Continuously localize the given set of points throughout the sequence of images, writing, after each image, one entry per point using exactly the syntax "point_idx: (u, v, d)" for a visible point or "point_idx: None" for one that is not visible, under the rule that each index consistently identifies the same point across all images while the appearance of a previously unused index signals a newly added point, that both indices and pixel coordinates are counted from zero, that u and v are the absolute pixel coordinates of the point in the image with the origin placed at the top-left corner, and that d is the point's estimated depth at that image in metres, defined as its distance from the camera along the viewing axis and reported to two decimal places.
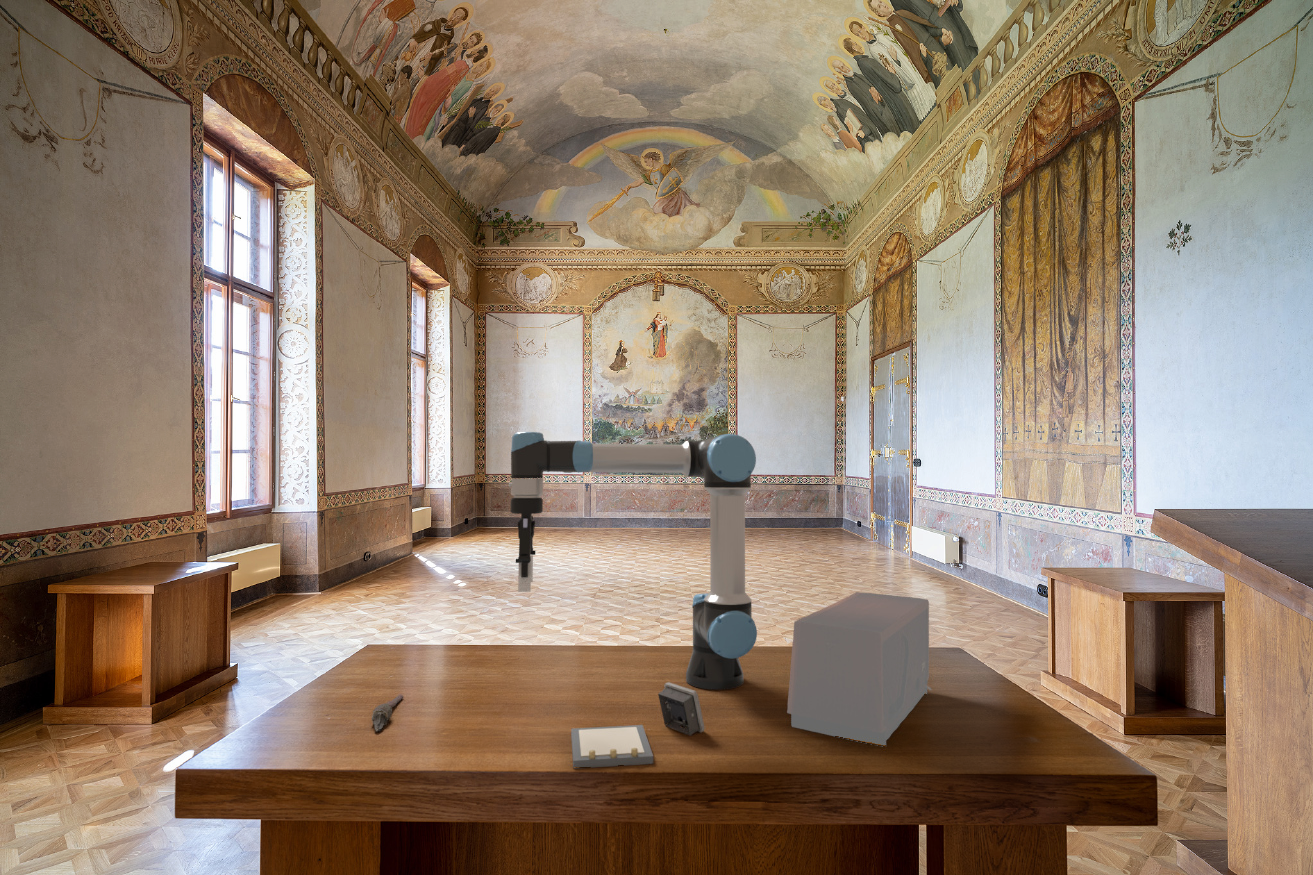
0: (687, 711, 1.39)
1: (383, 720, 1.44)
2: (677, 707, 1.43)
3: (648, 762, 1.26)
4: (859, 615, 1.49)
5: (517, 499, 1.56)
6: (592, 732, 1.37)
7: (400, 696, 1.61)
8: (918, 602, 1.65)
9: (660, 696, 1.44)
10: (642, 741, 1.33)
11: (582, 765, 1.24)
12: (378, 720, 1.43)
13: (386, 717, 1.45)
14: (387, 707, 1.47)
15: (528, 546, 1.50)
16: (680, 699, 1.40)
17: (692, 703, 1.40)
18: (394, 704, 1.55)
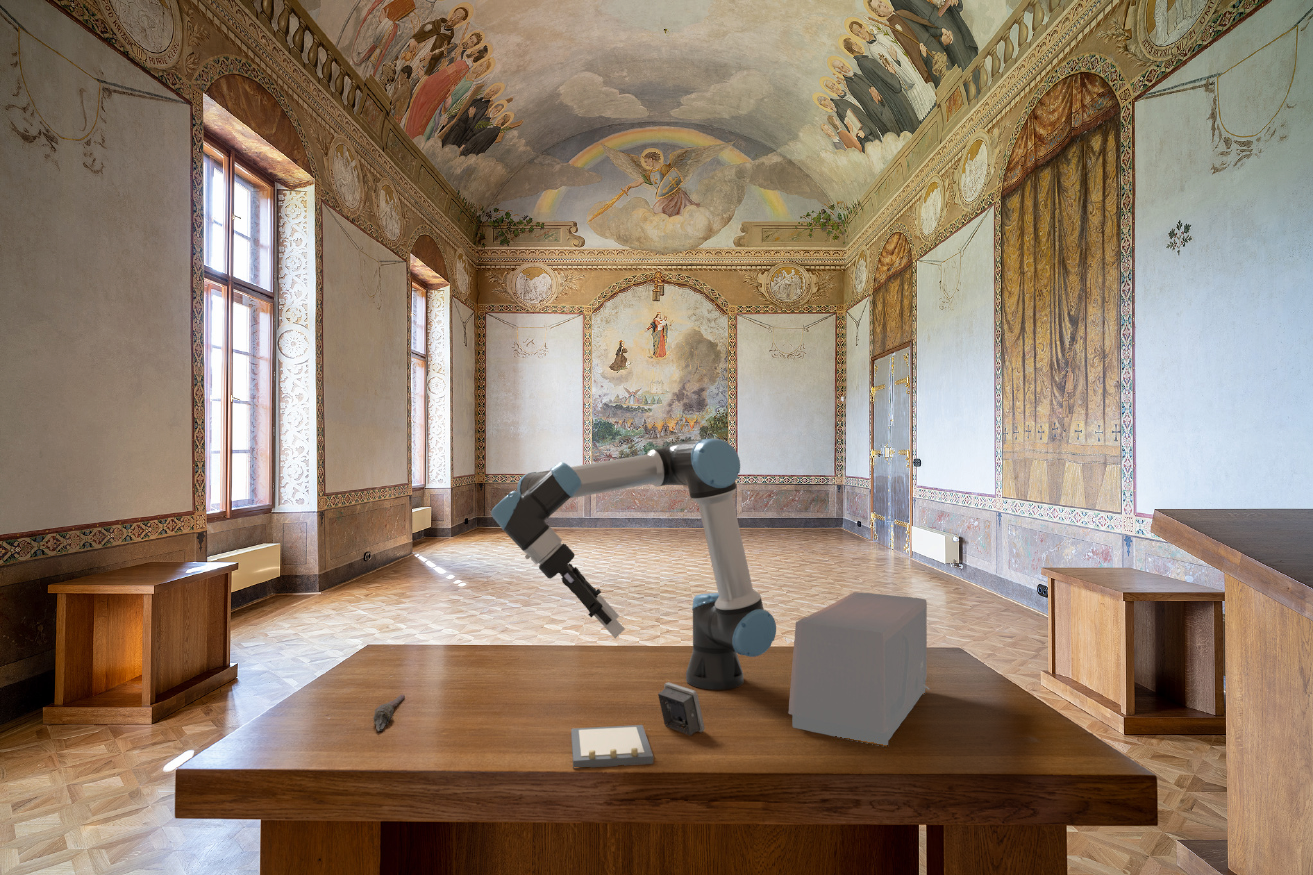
0: (687, 711, 1.39)
1: (385, 720, 1.44)
2: (677, 707, 1.43)
3: (648, 762, 1.26)
4: (859, 615, 1.49)
5: (545, 564, 1.39)
6: (592, 732, 1.37)
7: (402, 696, 1.61)
8: (916, 602, 1.65)
9: (660, 696, 1.44)
10: (642, 741, 1.33)
11: (582, 765, 1.24)
12: (380, 719, 1.43)
13: (388, 717, 1.45)
14: (389, 707, 1.47)
15: (589, 595, 1.34)
16: (680, 699, 1.40)
17: (692, 703, 1.40)
18: (396, 704, 1.55)
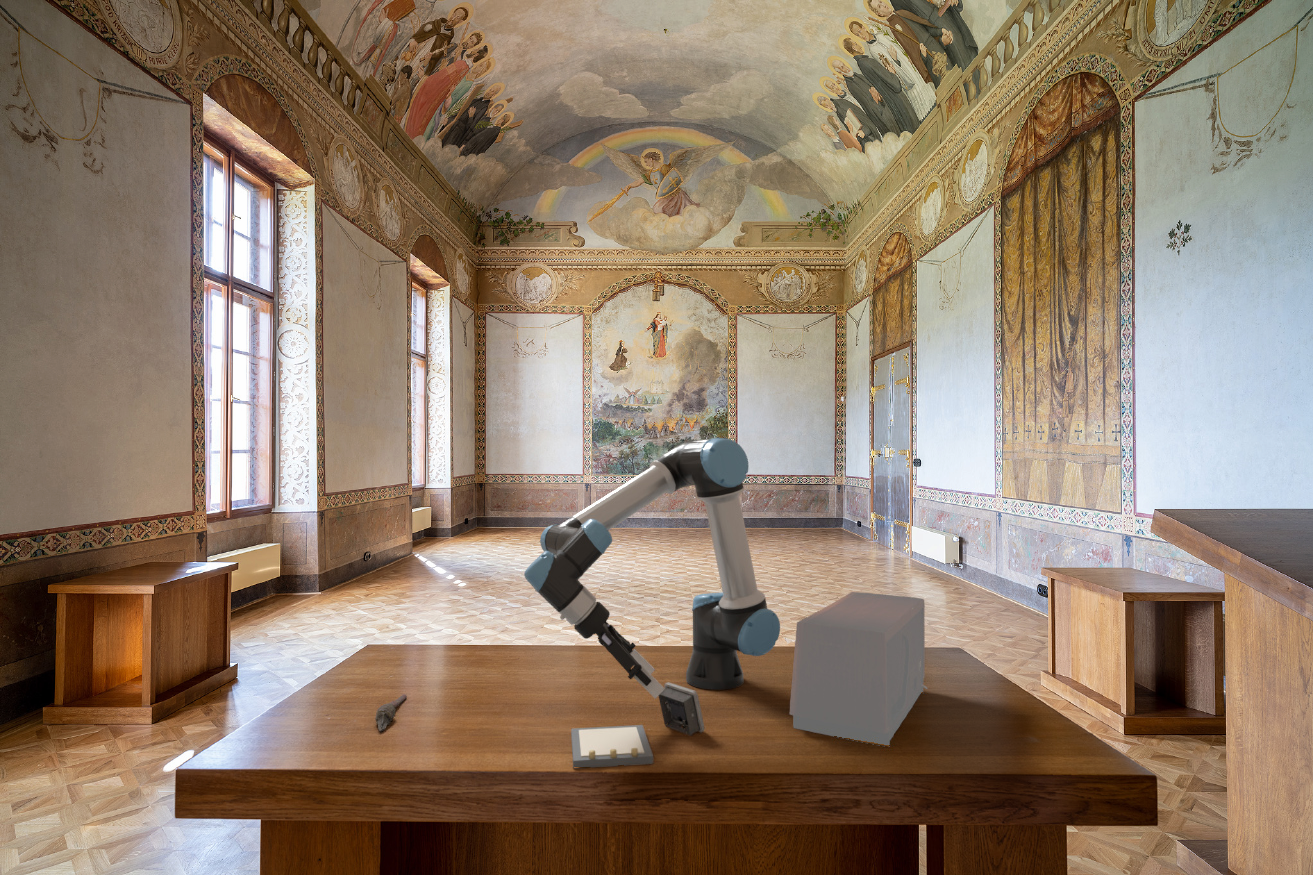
0: (687, 711, 1.39)
1: (387, 720, 1.44)
2: (677, 707, 1.43)
3: (648, 762, 1.26)
4: (860, 615, 1.49)
5: (581, 625, 1.37)
6: (592, 732, 1.37)
7: (403, 696, 1.61)
8: (915, 601, 1.66)
9: (660, 696, 1.44)
10: (642, 741, 1.33)
11: (582, 765, 1.24)
12: (382, 719, 1.43)
13: (390, 717, 1.45)
14: (391, 707, 1.47)
15: (628, 657, 1.33)
16: (680, 699, 1.40)
17: (692, 703, 1.40)
18: (397, 704, 1.55)
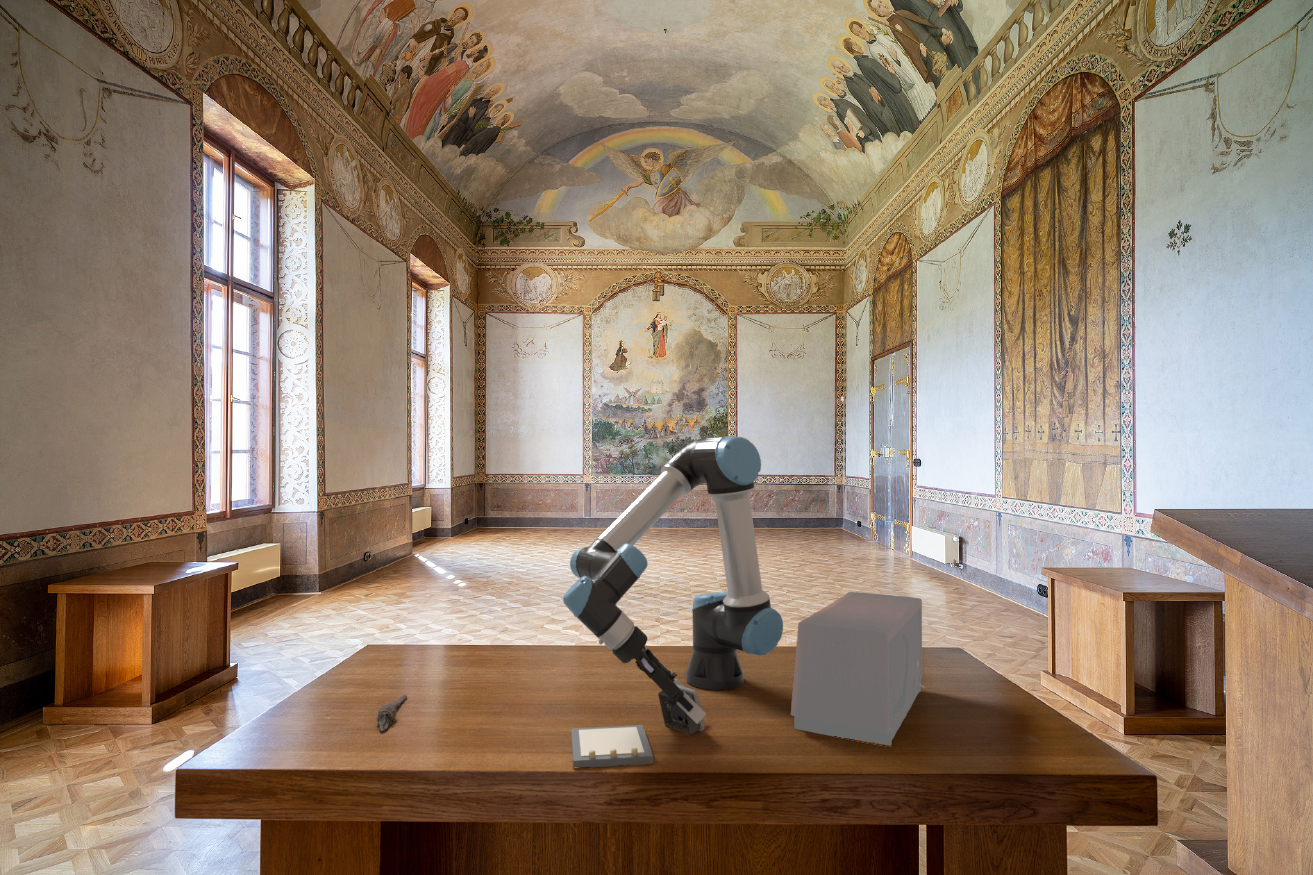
0: None
1: (388, 720, 1.44)
2: (677, 706, 1.43)
3: (648, 762, 1.26)
4: (860, 615, 1.49)
5: (620, 650, 1.39)
6: (592, 732, 1.37)
7: (404, 696, 1.61)
8: (913, 601, 1.66)
9: (660, 696, 1.45)
10: (642, 741, 1.33)
11: (582, 765, 1.24)
12: (383, 720, 1.43)
13: (391, 717, 1.45)
14: (392, 707, 1.47)
15: (671, 685, 1.36)
16: None
17: None
18: (398, 704, 1.55)
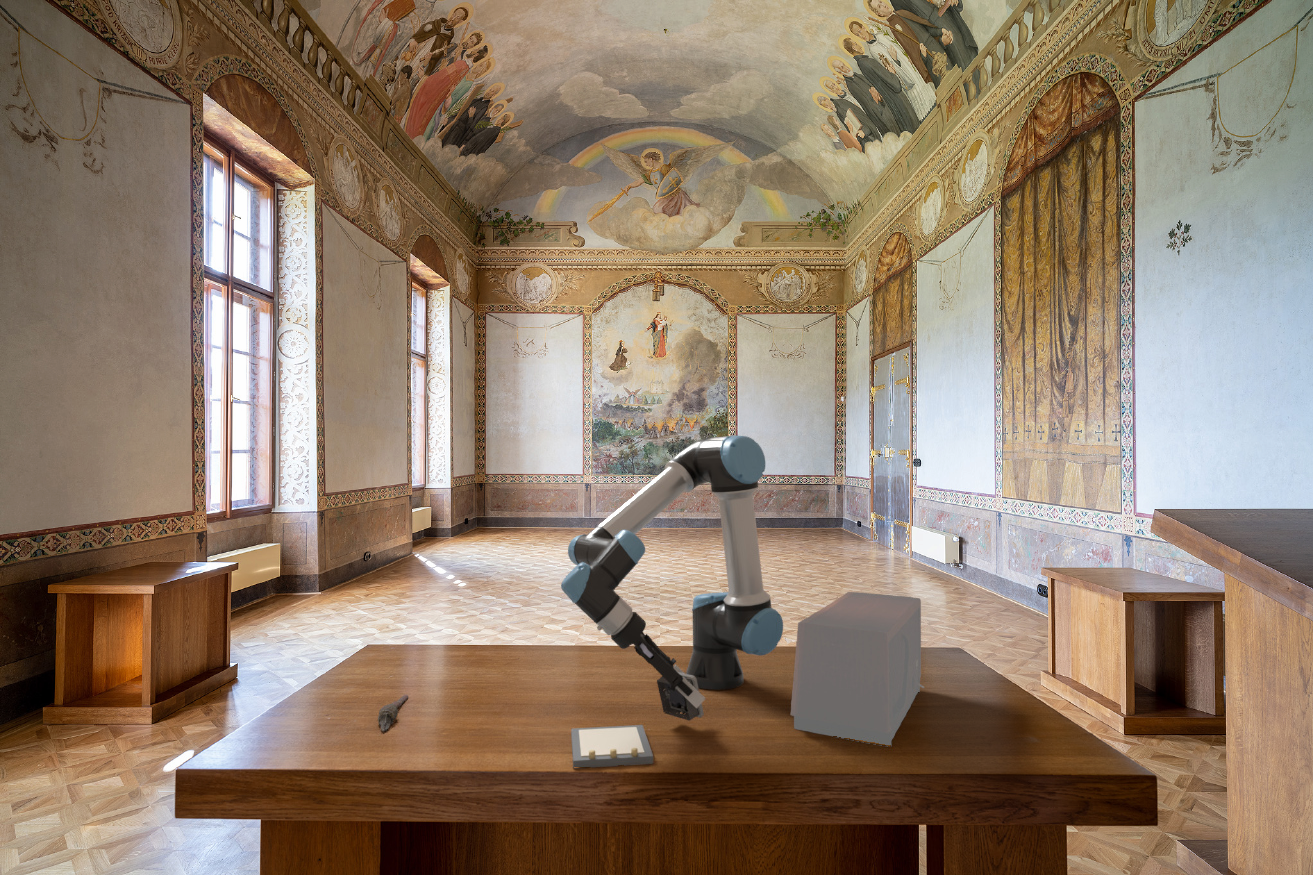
0: None
1: (389, 720, 1.44)
2: (676, 693, 1.44)
3: (648, 762, 1.26)
4: (859, 615, 1.49)
5: (618, 636, 1.39)
6: (592, 732, 1.37)
7: (405, 696, 1.61)
8: (912, 601, 1.66)
9: (659, 683, 1.45)
10: (642, 741, 1.33)
11: (582, 765, 1.24)
12: (385, 720, 1.43)
13: (392, 717, 1.45)
14: (393, 707, 1.47)
15: (670, 669, 1.36)
16: None
17: None
18: (399, 704, 1.55)
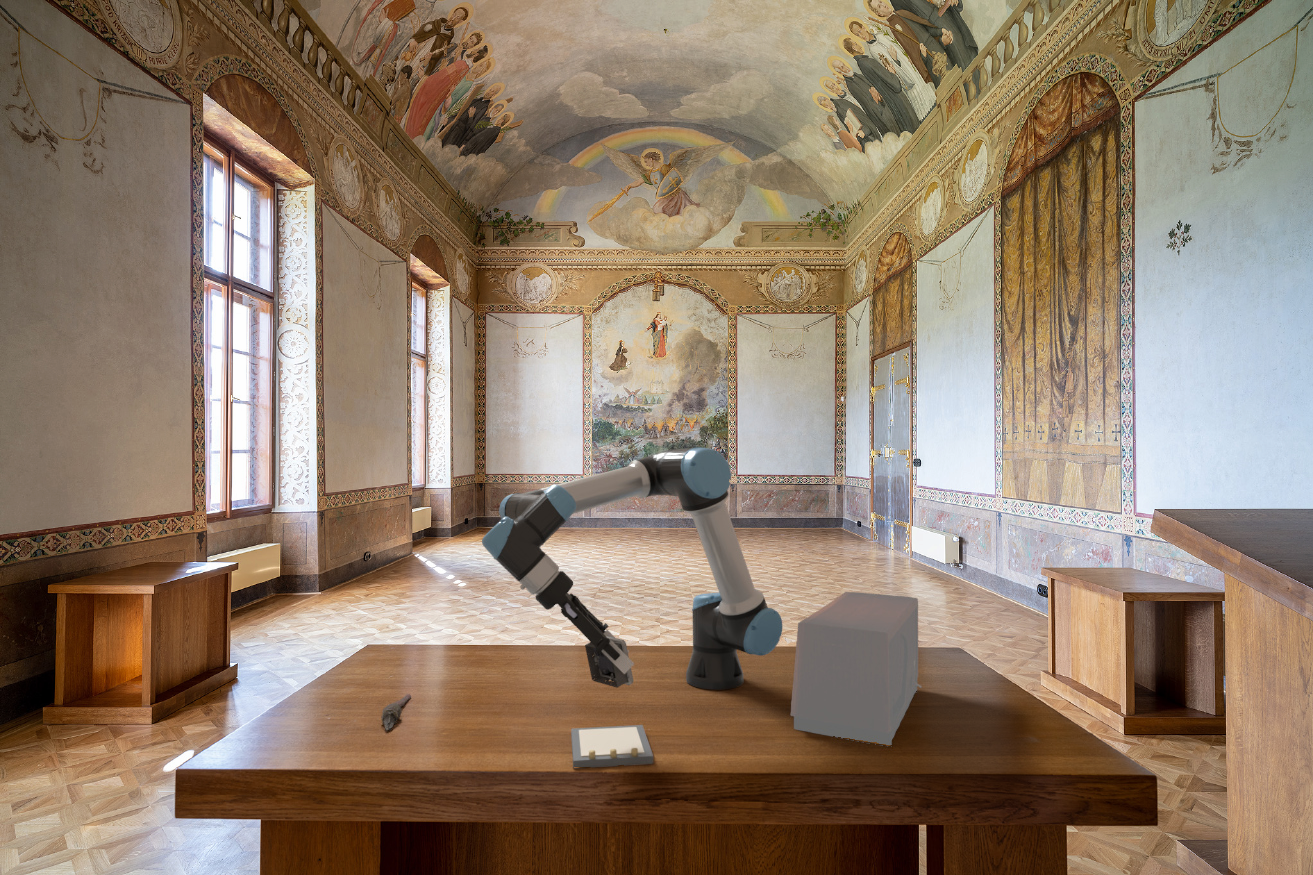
0: None
1: (393, 719, 1.45)
2: (605, 659, 1.34)
3: (648, 762, 1.26)
4: (859, 615, 1.49)
5: (542, 595, 1.29)
6: (592, 732, 1.37)
7: (408, 696, 1.61)
8: (909, 601, 1.67)
9: (587, 648, 1.35)
10: (642, 741, 1.33)
11: (582, 765, 1.24)
12: (388, 719, 1.44)
13: (396, 716, 1.46)
14: (396, 706, 1.48)
15: (595, 631, 1.26)
16: None
17: None
18: (403, 704, 1.56)
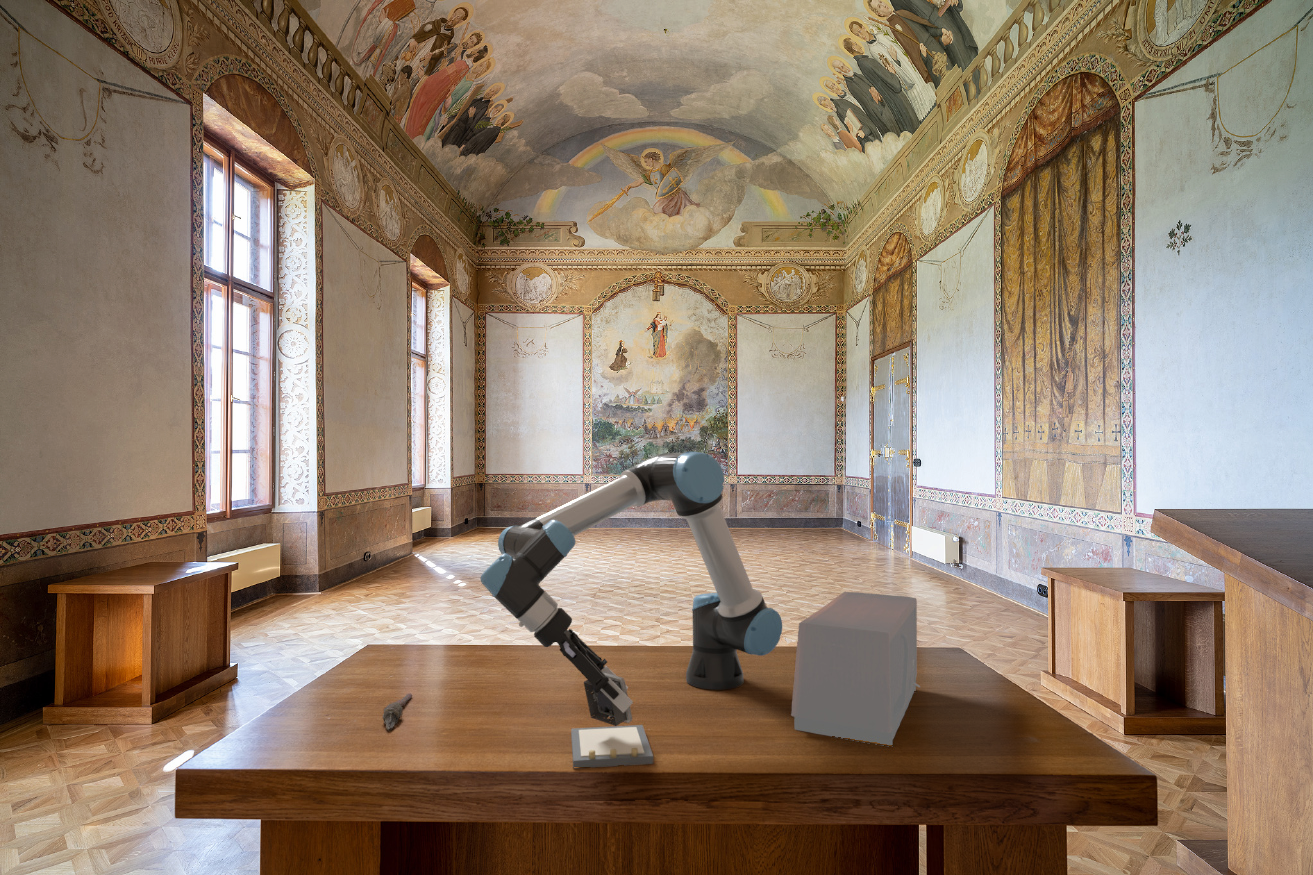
0: None
1: (394, 719, 1.45)
2: (603, 696, 1.33)
3: (648, 762, 1.26)
4: (859, 615, 1.49)
5: (540, 633, 1.29)
6: (592, 732, 1.37)
7: (409, 695, 1.61)
8: (908, 601, 1.67)
9: (586, 685, 1.35)
10: (642, 741, 1.33)
11: (582, 765, 1.24)
12: (390, 718, 1.44)
13: (397, 716, 1.46)
14: (398, 706, 1.48)
15: (594, 670, 1.26)
16: None
17: None
18: (404, 703, 1.56)
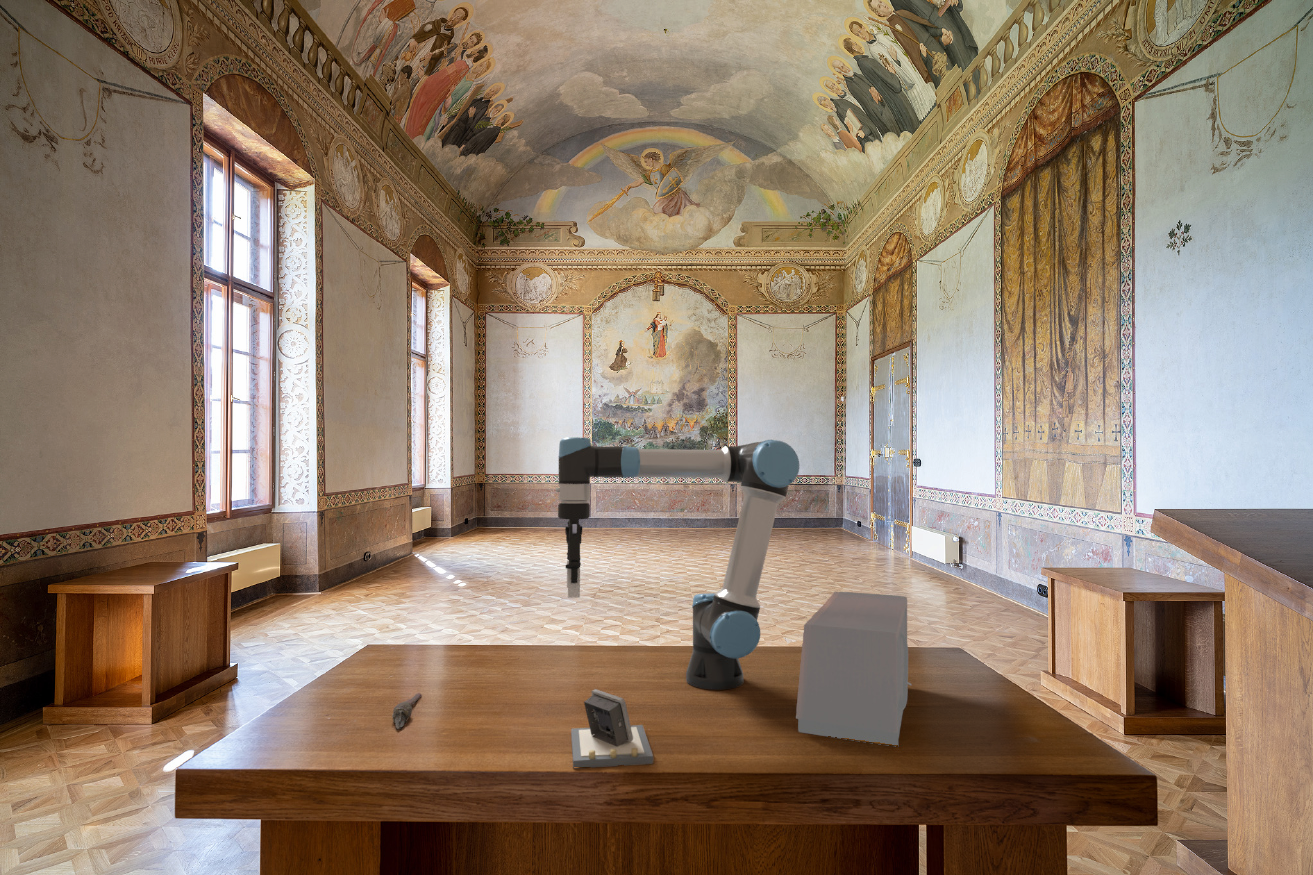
0: (613, 720, 1.29)
1: (404, 718, 1.45)
2: (604, 716, 1.33)
3: (648, 762, 1.26)
4: (859, 615, 1.49)
5: (566, 505, 1.56)
6: None
7: (418, 694, 1.62)
8: (901, 600, 1.68)
9: (586, 704, 1.34)
10: (642, 741, 1.33)
11: (582, 765, 1.24)
12: (399, 718, 1.44)
13: (406, 715, 1.46)
14: (407, 705, 1.48)
15: (578, 552, 1.50)
16: (606, 707, 1.30)
17: (619, 711, 1.30)
18: (413, 702, 1.56)
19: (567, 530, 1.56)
